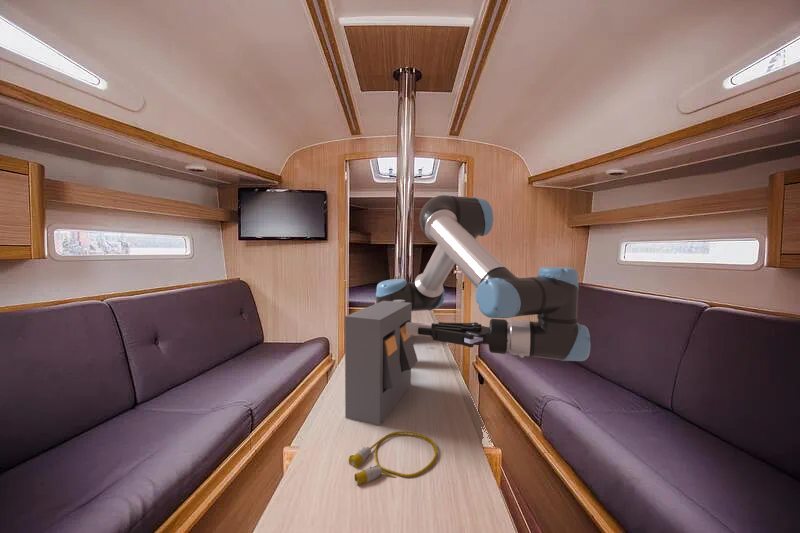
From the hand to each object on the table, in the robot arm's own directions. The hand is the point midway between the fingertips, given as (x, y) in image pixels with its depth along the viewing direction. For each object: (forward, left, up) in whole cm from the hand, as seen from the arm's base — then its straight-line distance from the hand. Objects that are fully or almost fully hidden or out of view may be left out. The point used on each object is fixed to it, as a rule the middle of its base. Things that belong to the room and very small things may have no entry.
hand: (406, 328), depth 76 cm
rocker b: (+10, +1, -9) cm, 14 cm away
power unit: (+5, -4, -17) cm, 18 cm away
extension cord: (+22, +6, -17) cm, 29 cm away
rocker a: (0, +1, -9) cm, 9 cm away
